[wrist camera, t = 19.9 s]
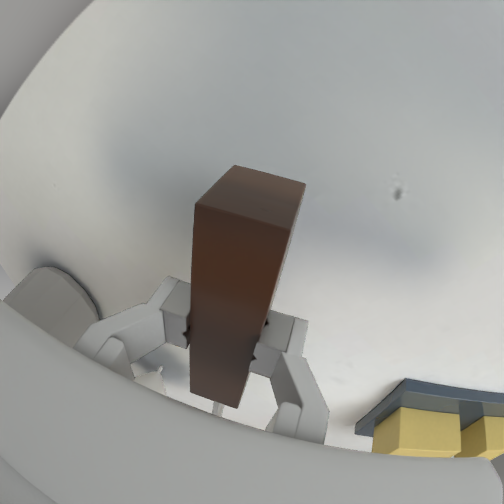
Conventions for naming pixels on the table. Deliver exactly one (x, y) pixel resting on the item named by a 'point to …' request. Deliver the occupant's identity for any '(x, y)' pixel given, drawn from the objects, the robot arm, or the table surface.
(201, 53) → the table surface
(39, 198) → the table surface
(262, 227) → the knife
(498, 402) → the butter dish
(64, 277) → the jar
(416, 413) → the butter block
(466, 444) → the block
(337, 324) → the table surface
